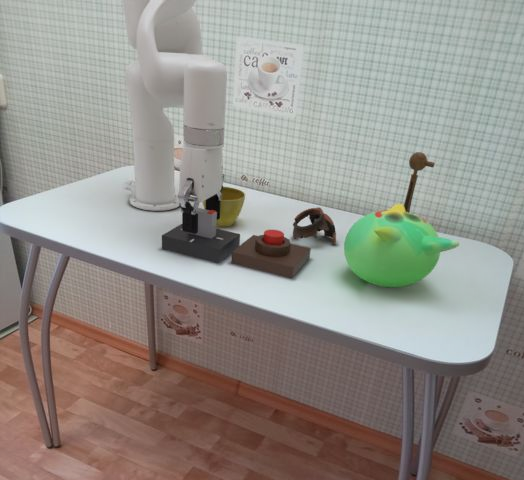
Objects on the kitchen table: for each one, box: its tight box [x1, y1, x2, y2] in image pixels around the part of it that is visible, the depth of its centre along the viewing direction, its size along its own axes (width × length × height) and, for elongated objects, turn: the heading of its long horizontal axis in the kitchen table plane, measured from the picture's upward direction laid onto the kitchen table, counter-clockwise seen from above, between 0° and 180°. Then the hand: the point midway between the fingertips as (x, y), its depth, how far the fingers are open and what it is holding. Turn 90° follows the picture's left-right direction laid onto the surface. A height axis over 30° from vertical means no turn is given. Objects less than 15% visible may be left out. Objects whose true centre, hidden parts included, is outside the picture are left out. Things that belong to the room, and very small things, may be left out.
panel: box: [161, 223, 241, 264], centre depth 106 cm, size 13×10×3 cm
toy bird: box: [343, 203, 460, 288], centre depth 97 cm, size 18×17×15 cm
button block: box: [230, 234, 312, 279], centre depth 103 cm, size 13×11×4 cm
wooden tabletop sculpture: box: [403, 151, 435, 213], centre depth 116 cm, size 6×5×20 cm
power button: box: [263, 229, 285, 245], centre depth 102 cm, size 4×4×2 cm
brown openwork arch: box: [292, 207, 337, 246], centre depth 116 cm, size 12×10×8 cm
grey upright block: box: [188, 207, 217, 239], centre depth 104 cm, size 6×2×5 cm, turn 68°
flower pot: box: [202, 186, 246, 228], centre depth 119 cm, size 10×10×7 cm
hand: (201, 224), depth 104 cm, fingers open, 9 cm apart
